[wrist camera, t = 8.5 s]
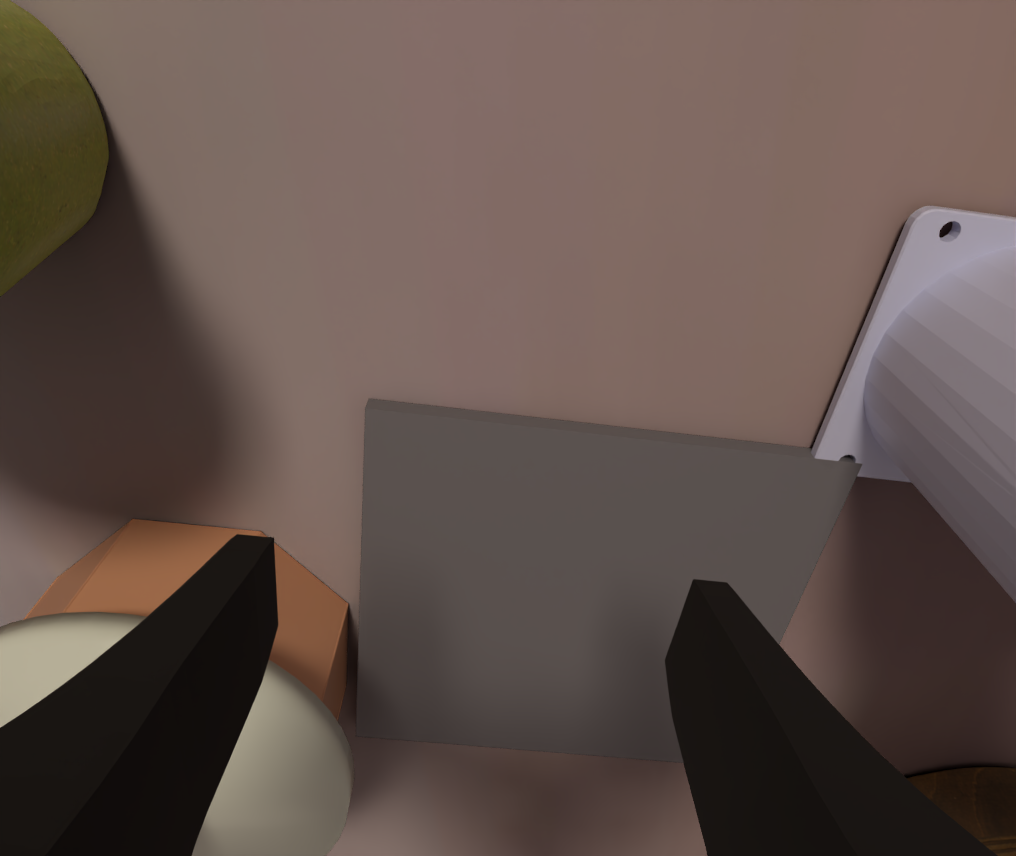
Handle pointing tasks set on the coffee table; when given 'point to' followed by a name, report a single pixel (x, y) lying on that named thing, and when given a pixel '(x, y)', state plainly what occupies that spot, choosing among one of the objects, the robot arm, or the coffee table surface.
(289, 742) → the lid
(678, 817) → the coffee table surface
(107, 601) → the bowl
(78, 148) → the plant pot
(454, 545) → the mat
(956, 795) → the wooden container
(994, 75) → the coffee table surface
